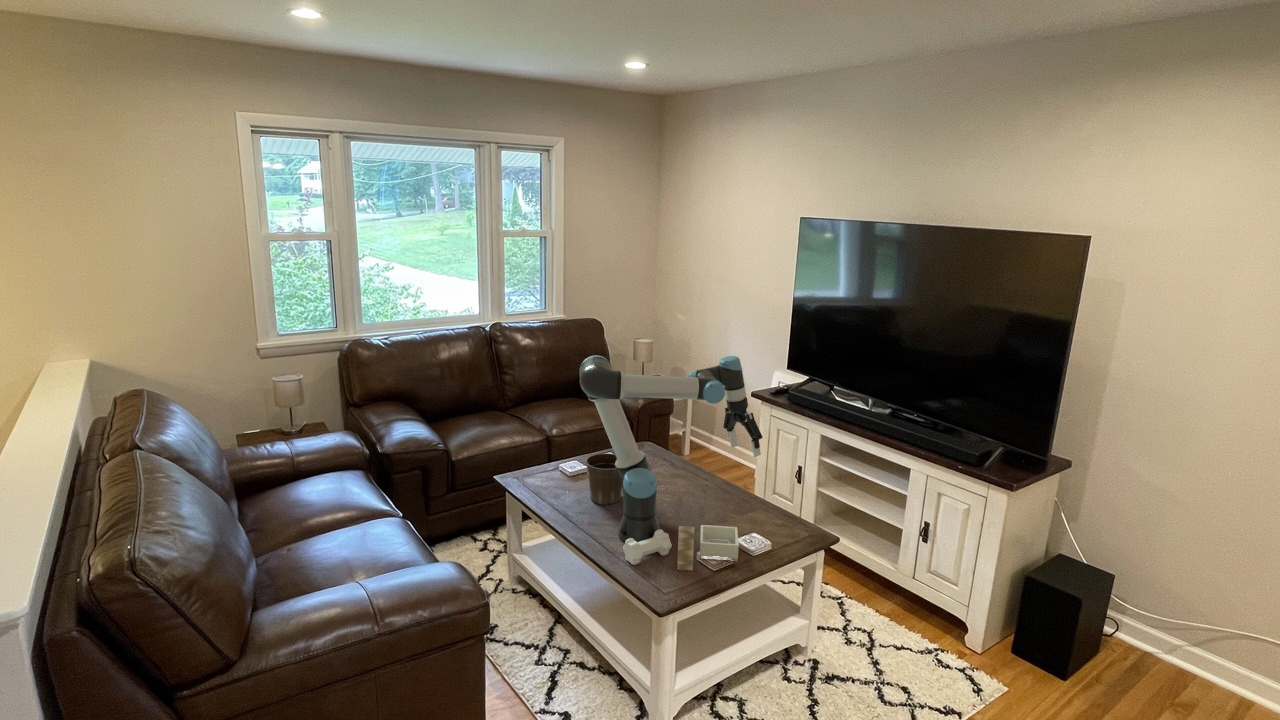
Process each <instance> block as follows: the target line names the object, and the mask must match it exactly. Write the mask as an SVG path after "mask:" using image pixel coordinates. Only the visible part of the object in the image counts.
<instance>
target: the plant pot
mask: <svg viewBox="0 0 1280 720" xmlns="http://www.w3.org/2000/svg"><path fill="white" fill-rule="evenodd" d="M616 460H617V458H616V455H615V453H611V452H610V453H609V452H608V453H607V452H606V453H603V452H602V453H596V454H593V455H590V456H588V457H587V458H586V459H585V465H586V469H587V473H588V480H589V482H588V483H589V493H590V495H589V496H590V501H591V500H592V502H593V503H596V504H598V505H606V506H608V505H612V504H616V503H619V502H620V501H621V498H622V493H623V488H622V482H621V479H620V476H619V474H618V471H617V469H616V466H615V462H616Z"/></svg>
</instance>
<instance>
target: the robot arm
mask: <svg viewBox="0 0 1280 720" xmlns="http://www.w3.org/2000/svg"><path fill="white" fill-rule="evenodd" d="M718 362H719V363H718V365H715V366H711V367H710V366H709V367H706V368H702V369H696V370H693V371H690V372H688V374H687V376H672V375H671V376H670V375H668V376H667V375H653V374H651V375H648V374H627V373H624V372H623V371H622V370H613V365H612V364H611V362H610V361H609V360H608V359H607V358H606V357H605V356H602V355H591V356H588V357H587V358H585V359H584V360H583V361H582V363H581V364H580V367H579V370H578V373H579V374H578V375H579V385H580V388H581V390H582V391H583V392H584V393H585V394H586V396H587V399H588V400H589V401H590V402H594V405H595V407H596V410H597V412H598V415H599V417H600V419H601V422H602V424H603V427H604V431H605V433H606V434H607V437H608V439H609V442H610V444H611V445H610V446H611V447H612V451H613V454H615V455H616V458H617V460H616V462H615V466H616V469H617V471H618V474H619V476H620V479H621V482H622V493H623V494H622V497H623V499H622V500H623V501H622V502H623V503H622V504H623V505H622V506H623V508H622V510H623V513H622V517H621V520H620V522H619V525H618V529H617V536H618V539H619V540H620V541H621V542H623V543H624V544H625V541H626V540H627V539H629V538H633V539H634V540H635V541H636V542H640V541H643V540H646V539H650V538H652V537H653V536H654V533H655V531H657V530H659V529H661V527H660V524H659V520H658V518H657V490H658V489H657V488H658V480H657V476H656V474H655V473H654V472H653V471H652V467H651V465H650V463H649V462H648V459H647V457H646V454H645V452H644V451H641V450H639V447H638V444H637V443H636V440H635V437H634V434H633V432H632V430H631V427H630V423H629V422H628V419H627V416H626V414H625V412H624V409H623V407H622V404H621V401H620V400H621V399H623V398H624V397H625V398H626V397H627V398H649V399H650V398H651V399H672V400H673V399H674V400H675V399H676V400H699V401H706V402H707V403H709V404H713V405H715V404H716V405H717V404H718V403H720V402H722V401H723V399H724V398H725V399H726V407H725V408H724V413H725V414H724V421H723V429H724V430H725V429H726V431H727V434H728V438H729V442H730V443H729V444H730V448H731V449H733V448H736V447H737V446H739V445H738V443H739V442H738V438H737V434H736V429H735V427H736V424H737V423H739V424H741V426H743V427H744V429H745V430H746V432H747V433H748V436H749V437H750V438H751V440H750V443H751V448H752V453H753V458H757V457H759V456H761V454H762V452H761V445H760V440H761V439H763V438H764V437H763V435H762V433H761V430H760V428H759V426H758V423H757V422H756V420H755V417H754V413H753V412H750V413H749V412H747V411H748V410H747V408H748V407H749V403H748V397H747V391H746V387H745V386H746V384H745V380H744V379H745V378H744V373H743V367H742V364H741V363H742V362H741V359H740V358H739V357H738V356H736V355H729V356H724V357H722V358H721V359H720V360H719V361H718Z"/></svg>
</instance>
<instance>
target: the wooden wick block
mask: <svg viewBox="0 0 1280 720" xmlns="http://www.w3.org/2000/svg"><path fill="white" fill-rule="evenodd" d="M677 535H678V536H677V537H678V540H677V541H678V542H677V568H676V569H677V570H679V571H693V570H694V549H695V546H694V545H695V526H686V525H682V526H681V525H679V526H678V534H677Z"/></svg>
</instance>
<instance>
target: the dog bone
mask: <svg viewBox="0 0 1280 720" xmlns="http://www.w3.org/2000/svg"><path fill="white" fill-rule="evenodd" d="M672 546H673V545H672V543H671V539H670V536H669V533H667V532H665V531H664V530H663V529H662V528H660V529H659V530H657V531H655V533H654V536H653V537H652V538H650V539H646V540H643V541H640V542H636V541H635V540H634V539H633V538H629V539H627V540H626V541H625V543H624V545H623V547H622V550H623V553H624V556H625V560H626V561H627V562H629V563H630V564H631V565H632V566H636V565H638V564H640V563H641V559H642V558H643V557H644V556H648V555H650V554H654V553H656V552H657V553H659V554H660V555H661V556H667V555H668V554H669V553H670V550H671V549H672Z"/></svg>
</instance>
